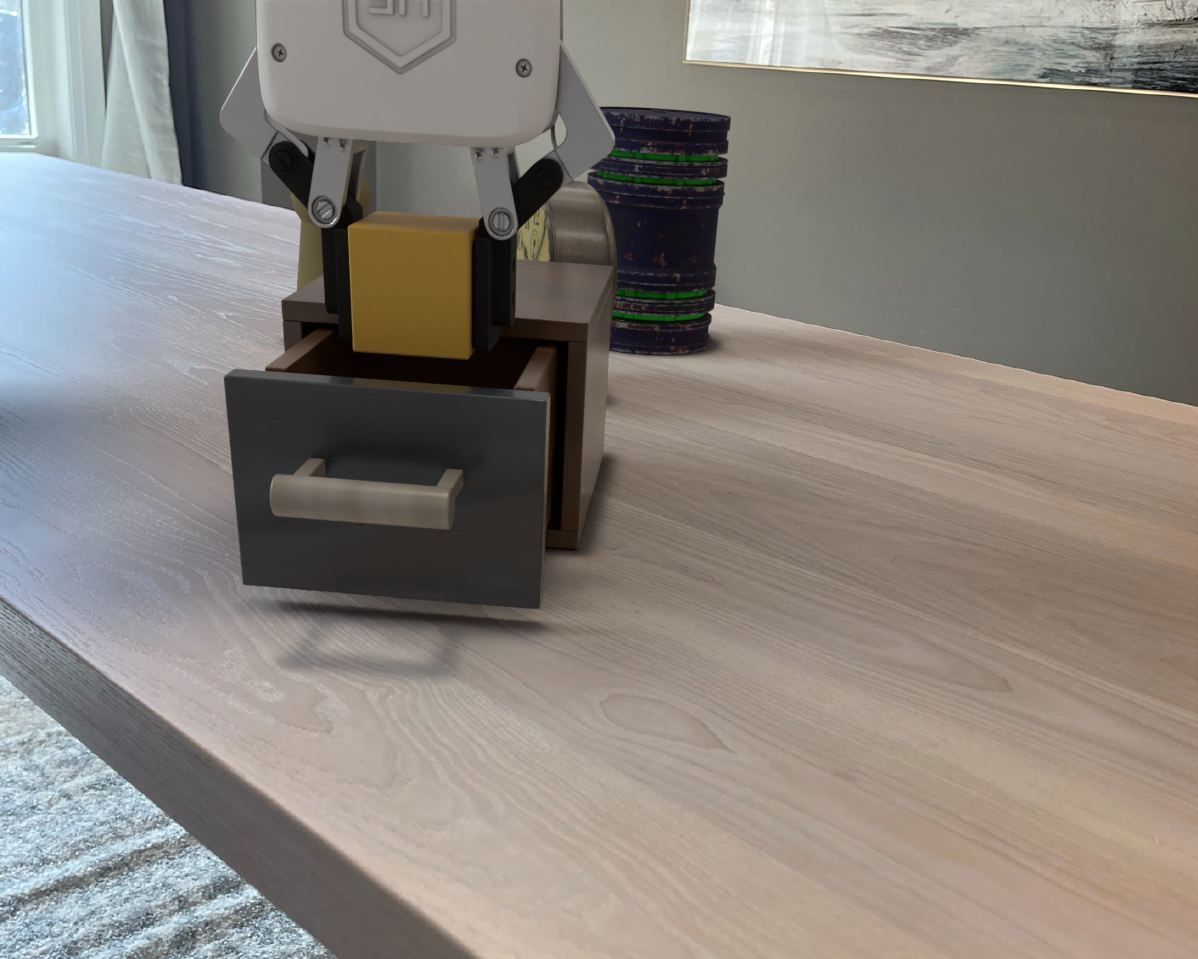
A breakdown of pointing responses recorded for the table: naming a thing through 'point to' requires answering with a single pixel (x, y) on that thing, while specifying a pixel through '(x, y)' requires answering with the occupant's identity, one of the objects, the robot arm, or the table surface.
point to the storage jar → (663, 224)
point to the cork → (317, 238)
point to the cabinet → (549, 312)
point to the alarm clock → (571, 229)
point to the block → (412, 284)
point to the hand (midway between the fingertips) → (421, 335)
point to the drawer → (398, 470)
